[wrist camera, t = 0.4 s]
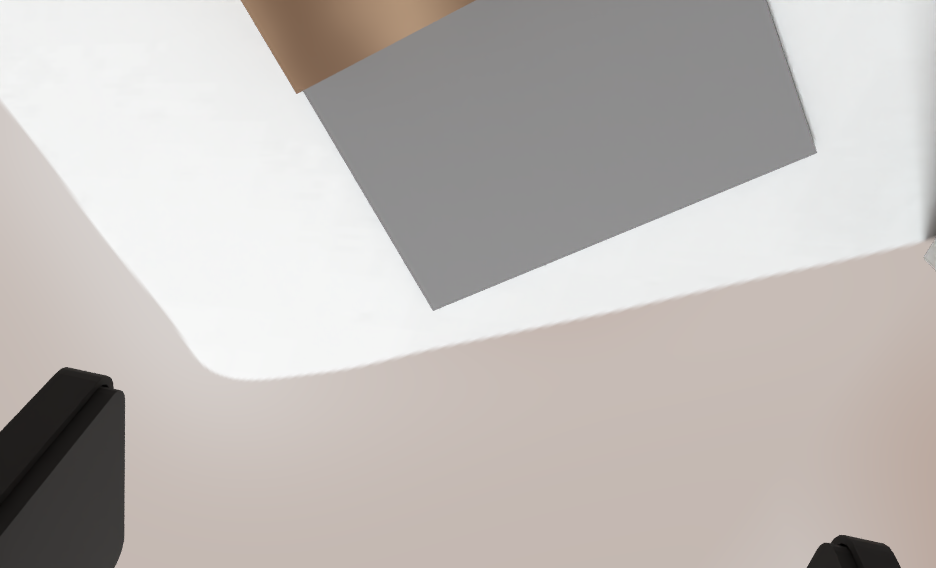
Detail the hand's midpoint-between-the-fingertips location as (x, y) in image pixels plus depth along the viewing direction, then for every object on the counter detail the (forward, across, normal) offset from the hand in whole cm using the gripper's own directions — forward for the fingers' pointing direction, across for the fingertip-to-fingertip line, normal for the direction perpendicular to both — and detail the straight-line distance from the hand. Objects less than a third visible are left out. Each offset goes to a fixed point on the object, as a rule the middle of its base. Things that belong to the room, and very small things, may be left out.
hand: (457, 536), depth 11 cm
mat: (+29, -2, +2) cm, 29 cm away
